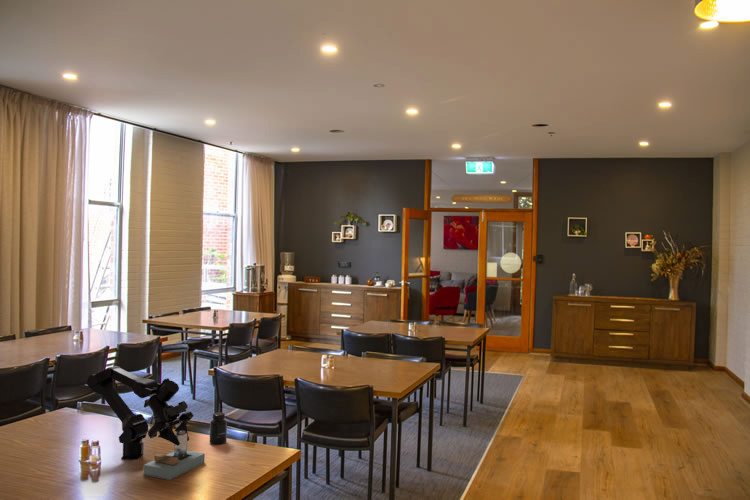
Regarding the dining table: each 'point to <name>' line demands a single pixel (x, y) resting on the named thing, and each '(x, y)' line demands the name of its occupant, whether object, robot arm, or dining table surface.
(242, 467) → the dining table surface
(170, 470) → the socket
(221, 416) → the supplement bottle
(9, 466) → the dining table surface
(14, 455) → the dining table surface
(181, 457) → the grey cylindrical piece
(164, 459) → the lock bar
